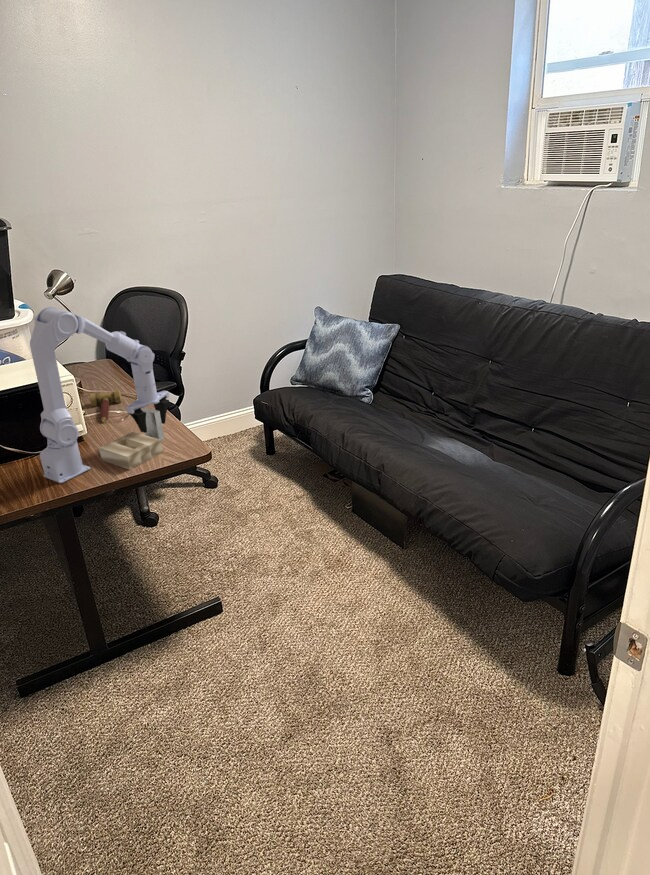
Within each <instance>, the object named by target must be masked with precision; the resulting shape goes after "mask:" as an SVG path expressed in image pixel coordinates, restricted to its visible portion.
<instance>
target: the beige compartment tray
mask: <svg viewBox="0 0 650 875" xmlns="http://www.w3.org/2000/svg"><path fill="white" fill-rule="evenodd" d="M98 449H99V450H98V451H99V454H100V458H101V461H102V462H106V463H109V464H111V465H112V464H113V465H115V466H117V467H120V468H124V469H127V470H129V471H131V470H132V469H134V468H137V467H138V466H140V465H142V464H144V463H146V462H148V461H150V460H151V459H153V458H155V457H157V456H159V455H160V454H161V455H162V454H163V453H164V449H163V445H162V440H160V439H156V438H153V437H149V436H146V435H145V434H143V433H138V432H136V431H135V432H134V431H130V432H129V433H127V434H125V435H122V436H120V437H119V438H117V439H114V440H113V441H109V442H108V443H106V444H103V445H101V446H99V447H98Z"/></svg>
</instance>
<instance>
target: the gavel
mask: <svg viewBox="0 0 650 875" xmlns="http://www.w3.org/2000/svg"><path fill="white" fill-rule="evenodd" d="M89 402H90V406H91V407H98V406H99V405H100V411H99V412H100V413H99V419H100V421H101V422H102V423H103V424H104V423H105V422H106V421H107V420H108V419H109V411H110V410H109V409H110V404H113V403H115V404H120V403H122V402H123V398H122V393H121V390H120V389H116V390H113V391H108V392H107V391H106V392H101V393H96V392H94V393H90V394H89Z"/></svg>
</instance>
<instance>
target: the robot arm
mask: <svg viewBox="0 0 650 875" xmlns="http://www.w3.org/2000/svg"><path fill="white" fill-rule="evenodd" d="M33 318H34V319H33V320H34V327H33V330H32V334H31V337H30V341H29V348H30V352H31V357H32V362H33V366H34V370H35V375H36V380H37V384H38V388H39V394H40V398H41V401H42V402H41V403H42V407H43V411H42V412H41V413H40V418H41V422H40V425H39V430H40V433H41V434H42V436H43V437H44V438H46V440H47V443H46V444H47V446H46V448H44V449H43V450H41V451H40V452H39V459H40V462H41V466H42V471H43V473H44V474H43V477H44V478H46V479H49V480H51V481H54V482H55V483H59V484H63V483H65V482H67V481H69V480H71V479H73V478H75V477H77V476H79V475H82V474H84V472H85V473H86V472H88V471H89V470H91V466H88V465H85V464H83V460H82V457H81V453H80V448H79V444H78V438H79V429H78V427H77V425H76V424H75V423H74V420H73V417H72V415H71V413H70V411H69V410H68V408H67V406H66V400H65V396H64V395H65V394H64V392H63V386H62V382H61V376H60V373H59V372H60V371H59V366H58V362H57V357H56V352H55V351H56V349H57V347H58V346H59V345H60V344H61V343H63V342H64V341H66V340H67V339H68V338H69V339H70V338H71V337H72V336H73V335H75V334H78V335H79V334H84V335H88V336H89V337H91V338H93V339H95V340H98V341H100V342H101V343H104V345H105V348H106V350H107V351H109V352H111V353H113V354H116V355H117V356H120V357H122V358H123V359H125V360H126V361H127V362H128V363H130V366H131V367H130V368H131V371H132V372H131V373H132V376H133V382H134V387H135V392H136V397H137V399H135V400H134V401H133V402H132V403H131V404H129V405H127V406H126V408H125V409H126V413H127V414H129V415H130V416H131V417H132V419H133V421H134V422H135V424H136V425H137V427H138V429H139V430H140V432H141V433H144V434H145V433H146V432H147V426H146V412H143V411H142V410H141V409H143V408H147V407H148V406H151V405H153V406H154V410H158V411H160V417H161V422H162V425H164V424H166V417H167V413H168V412H167V411H168V408H169V405H170V400H169V398H170V394H169V393H170V392H169V391H168V390H162V391H158V392H157V386H156V381H155V375H154V374H155V373H154V369H153V368H154V366H153V365H154V364H153V362H154V361H155V353H154V352H153V351H152V349H151V348H150V347H149V346H147V345H143V344H140V341H139V340H138V339H132V338H131V337H128V336H127V333H126V332H125V331H122V330H120V331H112V332H111V331H108V330H106V329H104V328H103V327H102V326H99V325H97V324H96V323H94V322H93V321H91V320H89V319H87V318H86V317H83V316H81V315H77V314H74V313H73V312H71V311H67V310H61V309H58V308H55V307H51V306H47V307H44V308H43V309H41V311H40V312H38V314H37V315H36V316H34V317H33Z"/></svg>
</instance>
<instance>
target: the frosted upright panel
mask: <svg viewBox="0 0 650 875" xmlns="http://www.w3.org/2000/svg"><path fill="white" fill-rule="evenodd" d="M141 410H142V411H143V412H146V426H147V432H146V433H144V435H146V436H149V437H153V438H156V439H160V440H161V441H162V440H165V434H164V429H163V424H162V422H161V417H160V411H158V410H156V409H155V408H154V409H153V408H150V407H144V408H142V409H141Z"/></svg>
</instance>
